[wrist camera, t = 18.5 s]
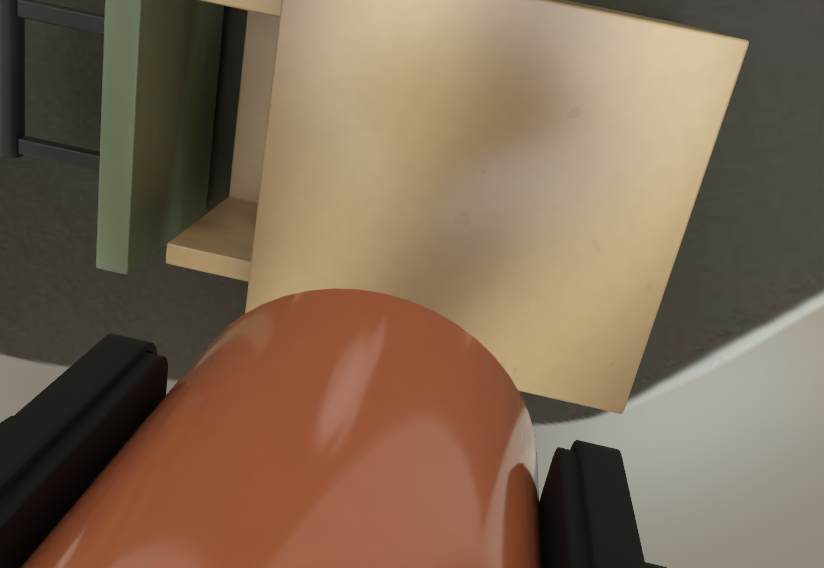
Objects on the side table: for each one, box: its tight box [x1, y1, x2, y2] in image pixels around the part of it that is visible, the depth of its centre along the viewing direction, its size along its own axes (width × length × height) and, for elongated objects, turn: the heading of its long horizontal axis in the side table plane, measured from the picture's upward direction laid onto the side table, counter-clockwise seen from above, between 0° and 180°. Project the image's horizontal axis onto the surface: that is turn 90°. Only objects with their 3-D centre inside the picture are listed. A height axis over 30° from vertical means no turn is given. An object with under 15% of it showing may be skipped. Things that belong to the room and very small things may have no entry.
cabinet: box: [245, 0, 749, 414], centre depth 29 cm, size 14×13×10 cm
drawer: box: [0, 0, 281, 282], centre depth 30 cm, size 18×11×8 cm, turn 79°
